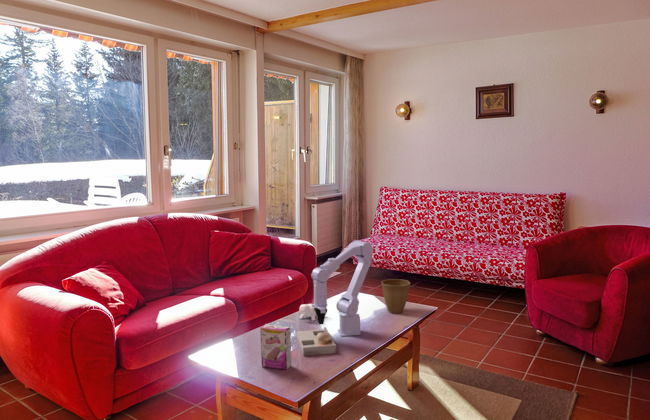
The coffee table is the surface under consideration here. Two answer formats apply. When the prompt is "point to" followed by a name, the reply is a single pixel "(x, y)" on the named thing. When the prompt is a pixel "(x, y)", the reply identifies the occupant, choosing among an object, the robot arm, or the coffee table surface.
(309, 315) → the white animal figurine
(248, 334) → the coffee table surface
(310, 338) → the trap board
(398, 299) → the plant pot
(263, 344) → the candy bar box
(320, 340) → the beige rounded knob
